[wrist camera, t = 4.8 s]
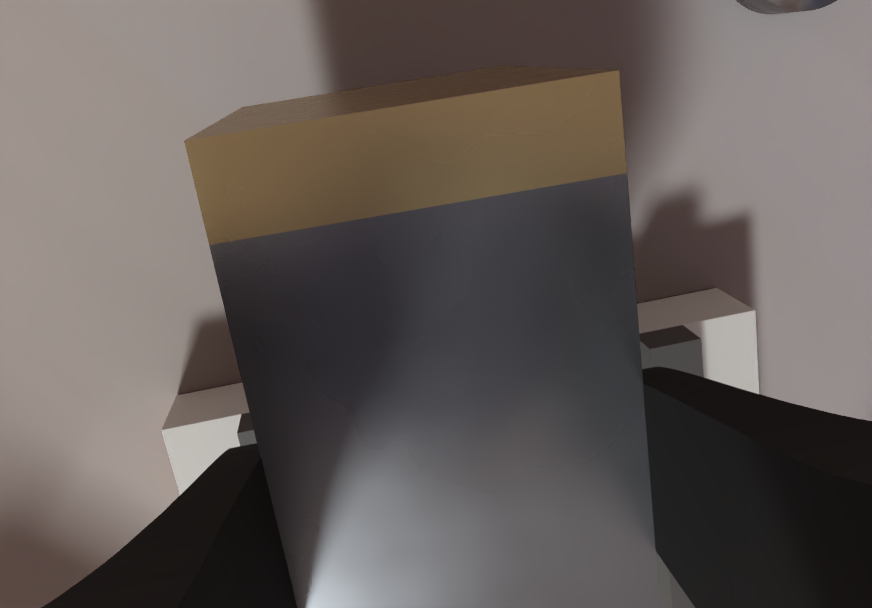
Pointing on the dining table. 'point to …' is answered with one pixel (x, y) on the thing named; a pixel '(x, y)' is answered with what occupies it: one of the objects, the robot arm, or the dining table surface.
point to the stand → (660, 346)
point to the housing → (440, 337)
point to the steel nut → (783, 5)
